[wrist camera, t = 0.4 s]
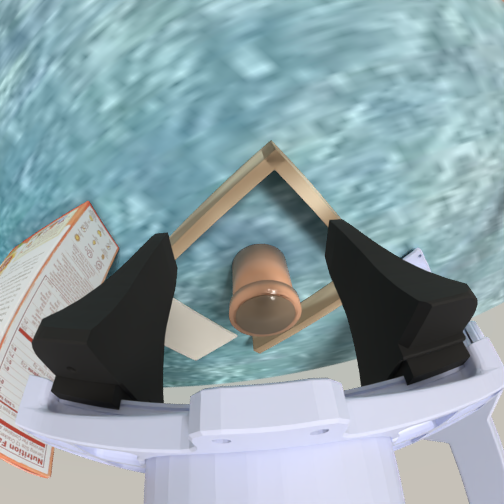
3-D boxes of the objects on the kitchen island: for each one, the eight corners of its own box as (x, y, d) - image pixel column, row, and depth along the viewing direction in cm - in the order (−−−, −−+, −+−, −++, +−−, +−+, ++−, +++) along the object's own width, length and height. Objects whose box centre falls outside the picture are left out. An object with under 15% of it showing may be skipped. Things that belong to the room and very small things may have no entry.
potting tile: (237, 335, 32) (237, 336, 32) (195, 359, 35) (195, 360, 35) (151, 283, 26) (151, 285, 26) (118, 318, 29) (117, 319, 29)
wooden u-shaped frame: (373, 260, 26) (382, 276, 24) (257, 336, 32) (259, 353, 30) (271, 140, 19) (275, 149, 17) (143, 264, 25) (137, 282, 23)
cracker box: (42, 284, 26) (-22, 439, 9) (13, 246, 22) (-72, 401, 6) (124, 250, 24) (54, 486, 7) (91, 197, 20) (-40, 437, 4)
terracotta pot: (300, 265, 26) (315, 314, 21) (257, 295, 28) (262, 345, 23) (261, 229, 24) (269, 278, 19) (216, 266, 26) (213, 318, 21)
